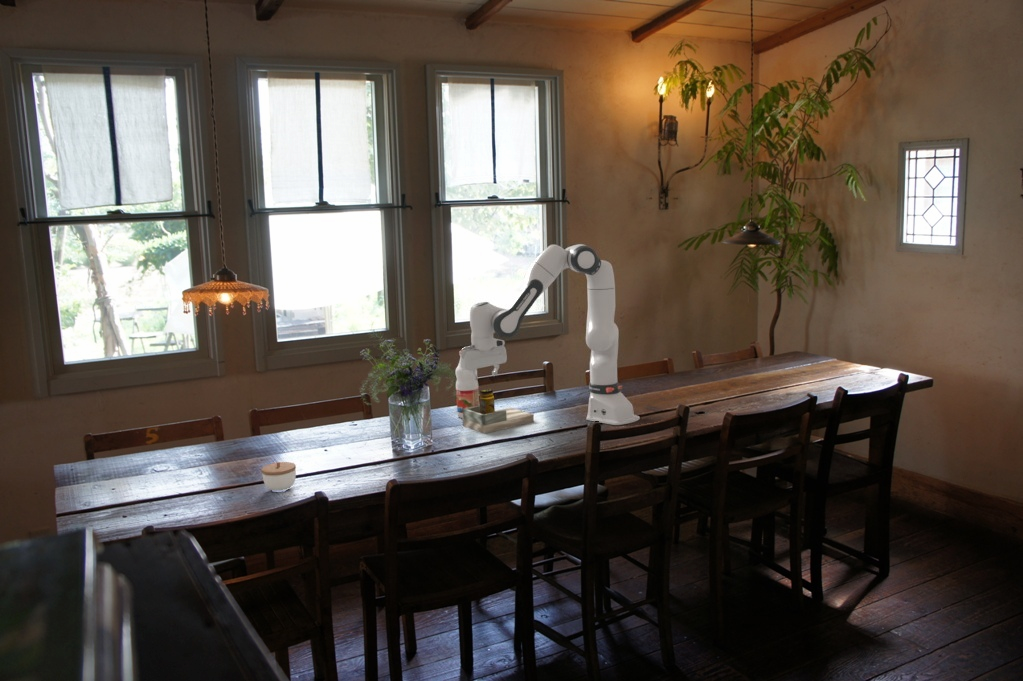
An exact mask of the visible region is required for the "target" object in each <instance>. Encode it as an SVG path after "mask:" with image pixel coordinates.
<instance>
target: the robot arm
mask: <svg viewBox="0 0 1023 681" xmlns="http://www.w3.org/2000/svg"><path fill="white" fill-rule="evenodd" d="M566 269H568V270H570V271H573V272H575V273H580V274H584V275H585V276H586V281H587V282H586V283H587V284H586V285H587V286H586V288H587V290H586V291H587V294H586V295H587V314H586V315H587V316H586V326H585V328H586V330H585V343H586V346H587V347H588V348H589V350H591V352H590V358H589V383H588V389H589V390H588V391H589V393H590V394H589V398H588V409H587V416H586V421H592V422H595V421H599V422H598V423H600V424H601V423H602V424H607V425H612V426H613V425H614V426H621V425H626V424H632V423H635V422H638V421H639V420H640V419H641V418H640V416H639V415H636V414H634V406H633V404H632V403H631V401H630V400H628V398H627V397H626V396H625V395H624V393H622V388H623V385H620V382H618V354H619V334H620V333H619V327H618V325H617V324H616V322H615V313H616V312H615V311H616V282H615V274H614V269H613V265H612V264H611V263H610V262H609V261H607V260H605V259H600V256H599V255H598V254H597V252H596V251H595V250H594V248H592V247H591V246H589V245H586V244H582V243H579V244H577V243H576V244H575V243H574V244H571V245H569V246H566V247H562V246H560V245H558V244H550V245H548V246H547V247H546V248H545V249H544V250H543V251H542V252H541V253H540V254H539V255H537V257H536V258H535V259H534V261H533V262H532V263H531V264H530V266H529V267H528V269H527V271H526V272H525V275H524V282H523V287H522V291H521V292H520V294H519V295H518V296H517V297H516V299H515V300H514V301H513V303H512V304H511V306H510V307H509V308H508V309H506V308H502V307H498V306H496V305H493V304H491V303H490V302H488V301H483V302H481V301H480V302H478V303H475V304H473V305H472V306H471V308H470V310H469V324H470V325H469V326H470V329H471V335H470V342H471V345H468V346H464V347H463V348H462V349H461V350H460V351H461V368H462V369H463V370H469V372H470V373H471V375H472V379H473V380H477V381H478V379H479V376H478V374H477V375H475V373H474V372H475V369H477V370H478V369H481V368H487V367H491V366H493V367H494V368H493V370H492V371H491V375H492V376H493V377H495V376H496V377H497V376H498V371H499V369H500V365H501V364H502V365H503V364H505V363H507V361H508V356H507V349H506V347H505V344H506V342H505V339H511V338H513V337H515V336H516V335H517V334H518V333H519V330H520V328H521V325H522V321H523V319H524V317H525V316H526V314H527V313H528V312H529V310H530V309H531V307H532V306H533V304H534V303H535V302H536V301H537V299H538V298H539V297H540V296H541V295H543V293H544V292H545V291H546V290H547V289H548V288H549V287H550V286H551V285H552V283H553V282H555V280H556V279H557V278H558V276H559V275H560V274H561V273H562V272H564V270H566ZM494 334H496V335H497V336H498V337H500V338H502V339H499V338H496V337H494ZM503 339H504V340H503Z"/></svg>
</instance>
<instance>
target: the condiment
mask: <svg viewBox="0 0 1023 681" xmlns="http://www.w3.org/2000/svg"><path fill="white" fill-rule="evenodd" d="M479 406H480V414H483V415H484V414H488V413H493V412H495V411H496V406H495V396H494V390H493V389H492V388H481V389H480V390H479Z"/></svg>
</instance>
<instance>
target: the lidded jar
mask: <svg viewBox="0 0 1023 681" xmlns="http://www.w3.org/2000/svg"><path fill="white" fill-rule="evenodd" d="M296 468H297V467H296V464H295V463H294V462H289V461H288V462H287V461H277V462H273V463H269V464H267V465H265V466H263V467H262V468H261V474H262V480H263V483H264V485H265V487H266V488H267V489H268V490H269V489H271V490H283V489H287V488H290V487H291V486H292V487H293V486H294V484H295V481H296V478H297V476H296V474H297V473H296V472H297V470H296ZM292 487H291V488H292ZM291 488H290V489H291ZM271 490H270V491H271Z"/></svg>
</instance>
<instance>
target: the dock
mask: <svg viewBox="0 0 1023 681" xmlns="http://www.w3.org/2000/svg"><path fill="white" fill-rule="evenodd" d="M534 416H535V415H534V414H532V413H529V412H526V411H522V410H520V409H516V408H512V407H508V408H503V409H498V410H495V412H493V413H488V414H484V415H483V414H480V406H475V407H471V408H466V409H463V418H461V420H462V426H463V427H465V428H469V429H471V430H474V431H477V432H479V433H482V434H489V433H493V432H496V431H501V430H504V429H509V428H514V427H519V426H522V425H526V424H530V422H531V423H534V422H535V420H534Z"/></svg>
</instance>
